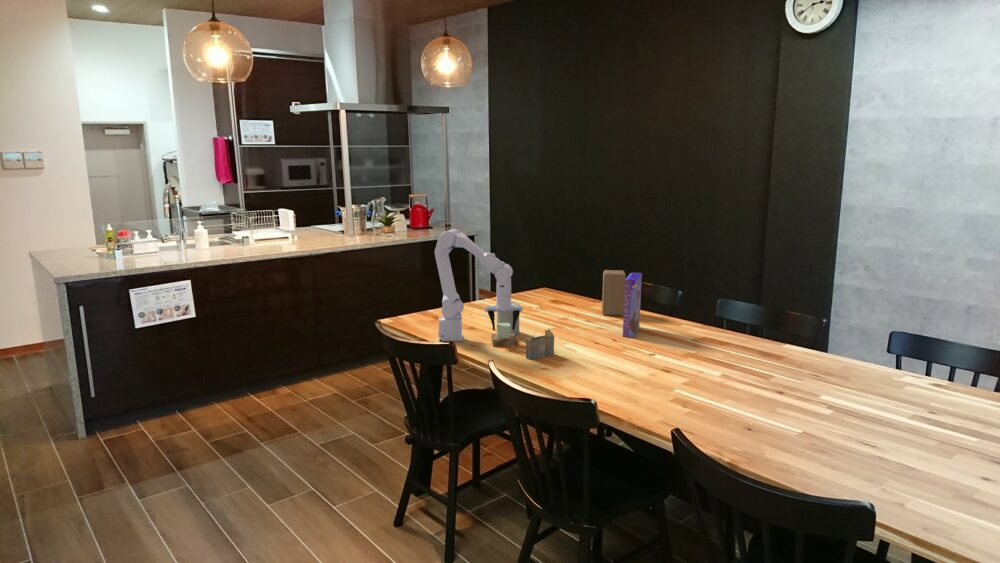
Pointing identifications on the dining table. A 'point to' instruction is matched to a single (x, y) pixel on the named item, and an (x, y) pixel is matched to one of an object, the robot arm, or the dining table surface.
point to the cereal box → (632, 304)
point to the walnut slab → (503, 341)
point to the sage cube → (503, 330)
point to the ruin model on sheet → (540, 346)
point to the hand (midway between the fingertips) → (503, 329)
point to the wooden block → (613, 292)
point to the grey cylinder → (509, 319)
